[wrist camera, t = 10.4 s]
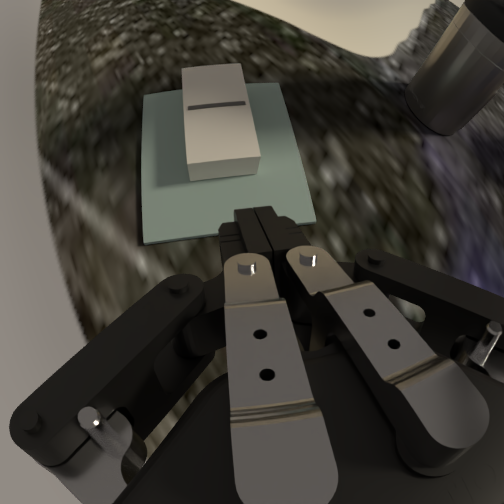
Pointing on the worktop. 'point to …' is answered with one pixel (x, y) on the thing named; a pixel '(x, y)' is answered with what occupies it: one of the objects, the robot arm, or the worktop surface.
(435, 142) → the worktop surface
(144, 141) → the mat
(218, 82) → the domino
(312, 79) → the worktop surface
